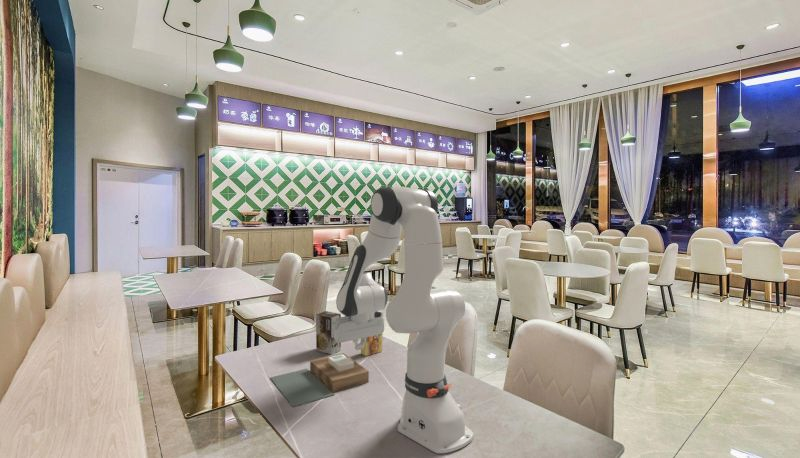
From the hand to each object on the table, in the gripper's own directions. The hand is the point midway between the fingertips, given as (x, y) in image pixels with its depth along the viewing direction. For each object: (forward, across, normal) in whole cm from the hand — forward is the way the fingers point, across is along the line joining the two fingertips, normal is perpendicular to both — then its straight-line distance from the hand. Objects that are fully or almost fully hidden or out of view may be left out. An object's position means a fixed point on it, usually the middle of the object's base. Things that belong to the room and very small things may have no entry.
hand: (359, 348), depth 150 cm
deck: (+8, -9, -1) cm, 12 cm away
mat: (+8, -24, -1) cm, 25 cm away
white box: (+4, -8, -1) cm, 9 cm away
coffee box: (+9, -2, +24) cm, 26 cm away
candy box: (+9, +13, +12) cm, 20 cm away
